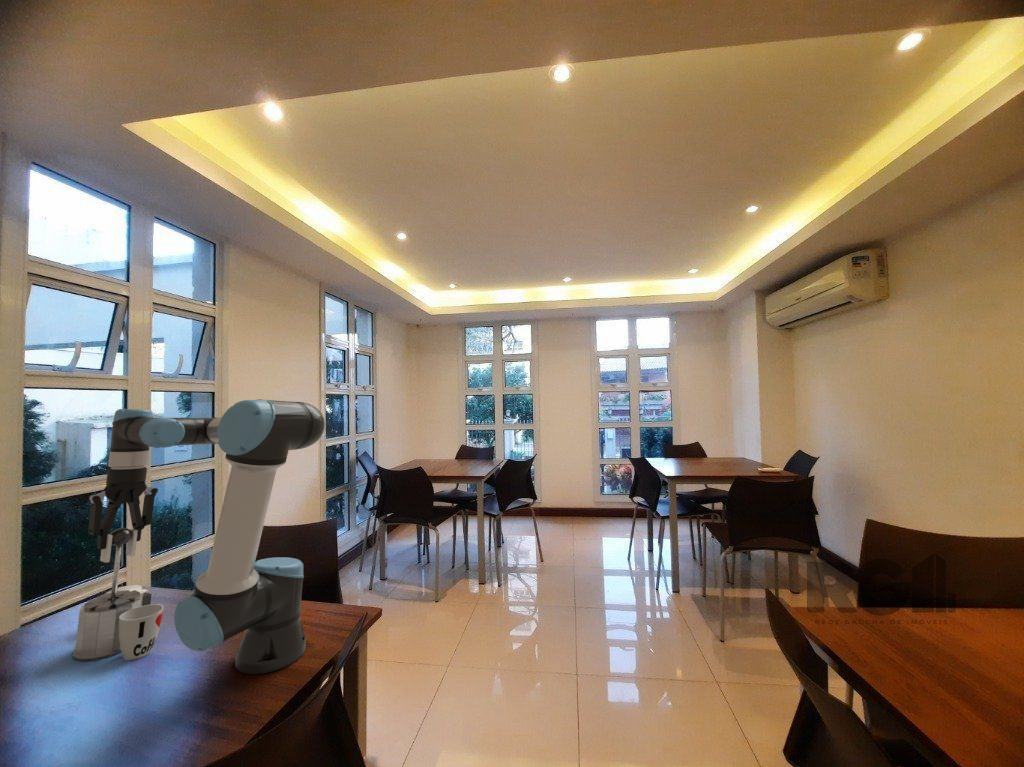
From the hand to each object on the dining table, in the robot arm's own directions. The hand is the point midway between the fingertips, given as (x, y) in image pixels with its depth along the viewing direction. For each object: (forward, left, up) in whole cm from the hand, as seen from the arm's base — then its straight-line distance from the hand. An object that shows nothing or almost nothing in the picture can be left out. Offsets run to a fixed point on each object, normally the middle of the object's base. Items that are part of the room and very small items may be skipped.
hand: (117, 557), depth 102 cm
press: (0, 0, -22) cm, 22 cm away
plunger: (0, 0, -13) cm, 13 cm away
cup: (-10, -1, -22) cm, 25 cm away
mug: (+11, -7, -22) cm, 26 cm away
